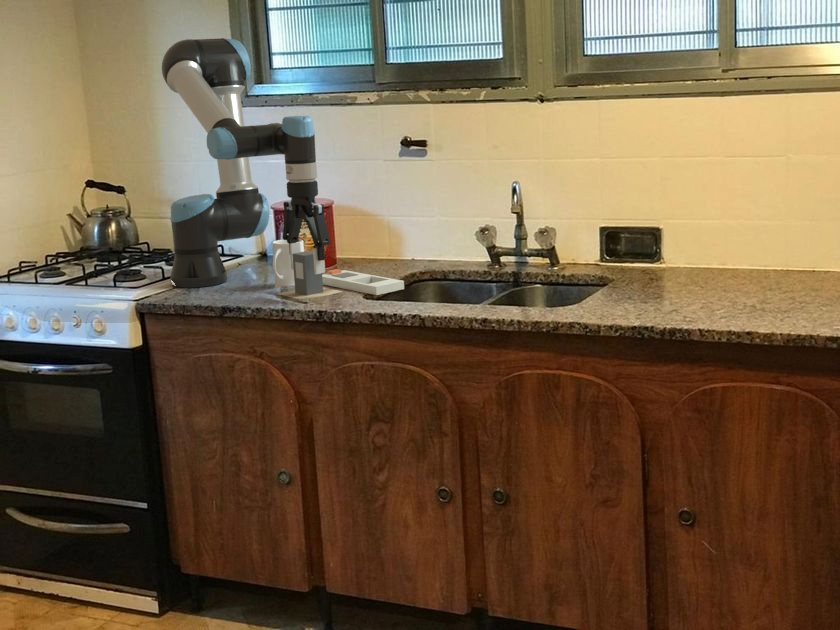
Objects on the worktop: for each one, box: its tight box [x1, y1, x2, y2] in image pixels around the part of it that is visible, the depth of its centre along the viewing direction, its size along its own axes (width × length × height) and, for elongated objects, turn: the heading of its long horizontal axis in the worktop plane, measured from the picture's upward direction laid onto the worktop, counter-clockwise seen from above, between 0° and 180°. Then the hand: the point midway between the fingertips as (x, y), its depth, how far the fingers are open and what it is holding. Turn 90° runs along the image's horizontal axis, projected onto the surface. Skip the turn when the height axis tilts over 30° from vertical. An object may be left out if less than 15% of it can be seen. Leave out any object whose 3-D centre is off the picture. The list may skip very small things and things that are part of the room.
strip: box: [322, 268, 405, 296], centre depth 266 cm, size 30×9×4 cm, turn 42°
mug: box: [271, 238, 305, 289], centre depth 269 cm, size 12×8×12 cm
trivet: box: [275, 286, 344, 305], centre depth 258 cm, size 12×12×1 cm
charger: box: [293, 250, 324, 296], centre depth 257 cm, size 5×5×10 cm
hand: (308, 270), depth 257 cm, fingers open, 9 cm apart
